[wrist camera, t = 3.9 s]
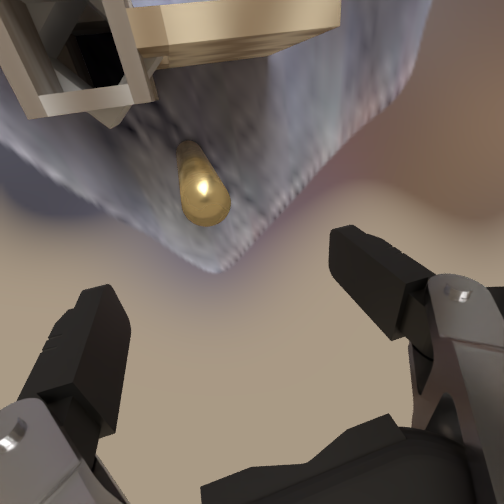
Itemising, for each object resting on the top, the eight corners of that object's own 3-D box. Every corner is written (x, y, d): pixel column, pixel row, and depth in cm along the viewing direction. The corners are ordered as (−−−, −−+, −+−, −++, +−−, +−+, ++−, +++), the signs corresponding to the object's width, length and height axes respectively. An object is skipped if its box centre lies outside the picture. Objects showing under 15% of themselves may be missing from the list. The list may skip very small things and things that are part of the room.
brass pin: (199, 138, 30) (226, 175, 16) (205, 165, 31) (234, 220, 17) (172, 142, 29) (175, 185, 15) (179, 169, 31) (188, 231, 17)
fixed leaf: (264, 3, 25) (344, -76, 14) (269, 84, 29) (337, 75, 17) (57, 22, 22) (-65, -60, 11) (91, 109, 26) (28, 119, 14)
